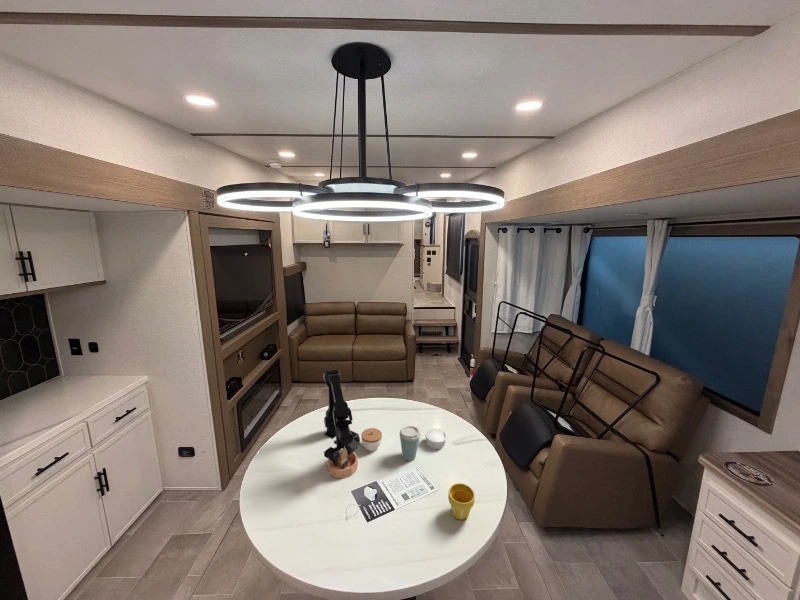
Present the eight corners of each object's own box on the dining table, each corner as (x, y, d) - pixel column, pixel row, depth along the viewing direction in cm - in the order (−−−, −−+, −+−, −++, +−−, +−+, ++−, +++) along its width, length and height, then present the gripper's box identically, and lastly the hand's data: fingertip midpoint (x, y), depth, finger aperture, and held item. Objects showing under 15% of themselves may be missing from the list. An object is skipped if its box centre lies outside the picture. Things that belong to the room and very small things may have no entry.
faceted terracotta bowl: (321, 470, 150) (321, 462, 149) (341, 453, 162) (341, 446, 161) (344, 482, 143) (343, 475, 142) (363, 464, 154) (363, 456, 153)
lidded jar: (383, 441, 171) (383, 425, 169) (380, 455, 161) (380, 438, 159) (363, 439, 172) (363, 424, 170) (359, 453, 162) (359, 437, 160)
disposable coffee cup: (395, 460, 157) (396, 433, 154) (403, 446, 167) (403, 421, 164) (416, 466, 154) (417, 439, 150) (422, 451, 163) (423, 426, 160)
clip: (337, 466, 152) (337, 460, 151) (341, 462, 154) (341, 456, 154) (343, 469, 150) (343, 463, 149) (348, 465, 152) (348, 460, 152)
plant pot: (446, 501, 134) (447, 482, 132) (470, 502, 134) (472, 483, 131) (448, 524, 124) (450, 503, 122) (475, 525, 123) (477, 504, 121)
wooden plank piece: (338, 467, 151) (338, 452, 149) (344, 462, 154) (343, 448, 152) (341, 469, 150) (341, 454, 148) (347, 463, 153) (346, 449, 151)
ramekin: (447, 451, 164) (447, 442, 163) (425, 450, 165) (426, 441, 163) (444, 437, 175) (445, 429, 174) (424, 436, 175) (424, 428, 174)
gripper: (341, 449, 136) (342, 480, 139) (367, 427, 151) (368, 455, 155) (322, 440, 142) (323, 469, 145) (350, 419, 157) (350, 446, 161)
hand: (342, 460), depth 151 cm, fingers open, 9 cm apart
